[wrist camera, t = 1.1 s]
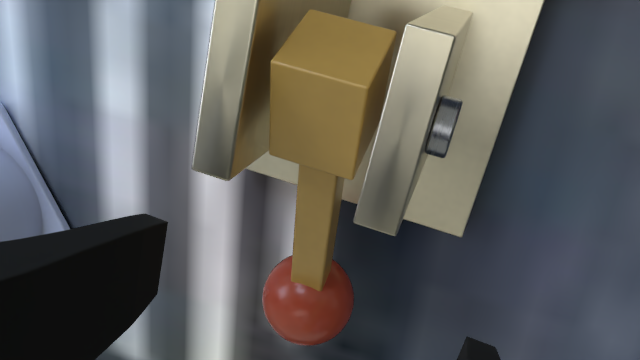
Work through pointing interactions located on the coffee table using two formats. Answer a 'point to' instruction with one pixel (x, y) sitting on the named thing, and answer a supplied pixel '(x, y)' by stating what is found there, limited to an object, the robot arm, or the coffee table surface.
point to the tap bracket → (398, 107)
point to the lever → (322, 160)
